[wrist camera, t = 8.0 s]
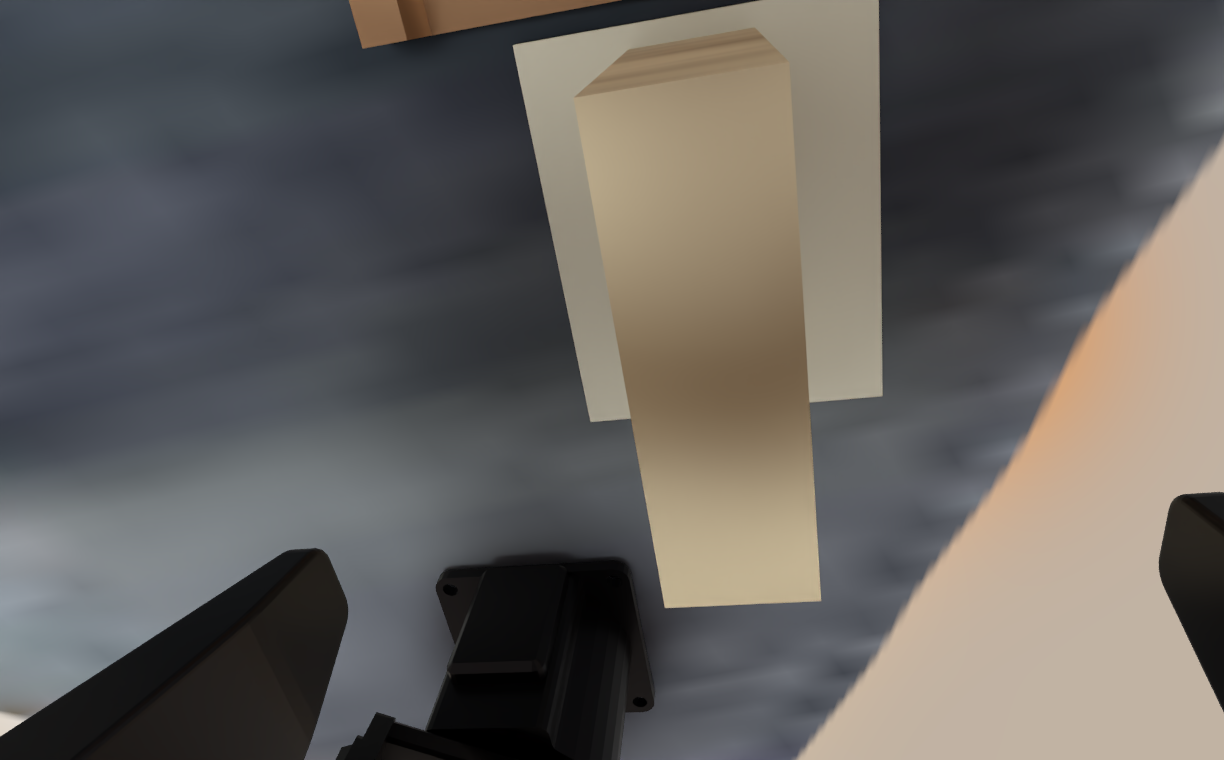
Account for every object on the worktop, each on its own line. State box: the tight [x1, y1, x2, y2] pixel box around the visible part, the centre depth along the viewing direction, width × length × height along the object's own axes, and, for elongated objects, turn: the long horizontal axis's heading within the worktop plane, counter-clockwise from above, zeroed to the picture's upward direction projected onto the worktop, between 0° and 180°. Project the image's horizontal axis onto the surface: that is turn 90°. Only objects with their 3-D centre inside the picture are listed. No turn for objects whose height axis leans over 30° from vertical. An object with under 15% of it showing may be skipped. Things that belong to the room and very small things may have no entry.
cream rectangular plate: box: [513, 0, 882, 422], centre depth 19 cm, size 10×8×1 cm
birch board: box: [573, 27, 821, 608], centre depth 15 cm, size 9×3×8 cm, turn 10°
